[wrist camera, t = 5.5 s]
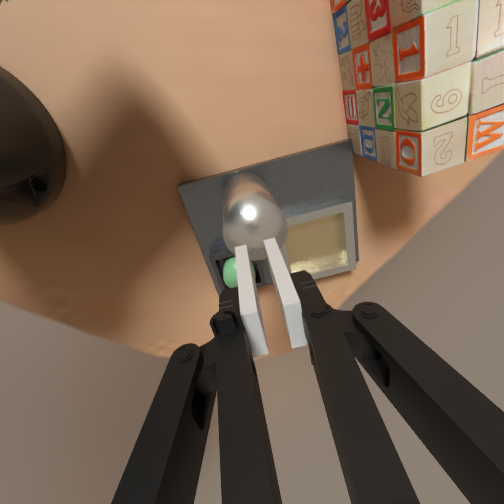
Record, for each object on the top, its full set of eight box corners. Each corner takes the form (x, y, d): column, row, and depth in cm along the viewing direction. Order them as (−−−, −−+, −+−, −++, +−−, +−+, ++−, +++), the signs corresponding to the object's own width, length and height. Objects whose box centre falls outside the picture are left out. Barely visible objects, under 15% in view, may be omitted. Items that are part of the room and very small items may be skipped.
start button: (219, 254, 32) (219, 267, 29) (248, 246, 32) (251, 259, 29) (227, 278, 34) (228, 293, 31) (255, 271, 33) (258, 285, 31)
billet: (217, 179, 28) (214, 210, 19) (263, 166, 28) (281, 192, 19) (230, 221, 31) (232, 267, 22) (272, 210, 30) (292, 251, 22)
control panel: (178, 184, 29) (173, 193, 26) (348, 138, 28) (363, 142, 25) (219, 292, 36) (218, 308, 33) (355, 257, 36) (367, 271, 33)
